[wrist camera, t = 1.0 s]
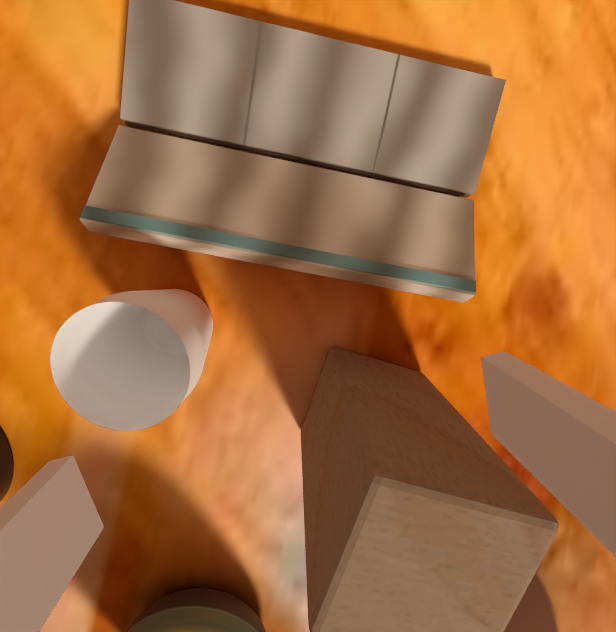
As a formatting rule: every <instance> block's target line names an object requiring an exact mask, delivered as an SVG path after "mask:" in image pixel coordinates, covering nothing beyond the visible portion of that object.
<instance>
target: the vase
mask: <svg viewBox="0 0 616 632" xmlns="http://www.w3.org/2000/svg"><path fill="white" fill-rule="evenodd" d="M127 632H266V631H265V628H264V626H263V624H262V622H261V620H260V619H259V617H258V616H257V614H256V613H255V612H254V611H253V610H252V609H251V608H250V607H249V606H248V605H247V604H246V603H244V602H243V601H242V600H240V599H238V598H237V597H235V596H233V595H230V594H228V593H225V592H222V591H218V590H214V589H205V588H194V589H186V590H181V591H178V592H174V593H172V594H169V595H167V596H164V597H162V598H161V599H159V600H157V601H156V602H154V603H153V604H152V605H150V606H149V607H148V608H147V609H145V610H144V611H143V612H142V613H141V614H140V615H139V617H138V618H137V619H136V620H135V621H134V622H133V624H132V625H131V626H130V627H129V629H128V630H127Z"/></svg>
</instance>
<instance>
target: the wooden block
mask: <svg viewBox="0 0 616 632" xmlns="http://www.w3.org/2000/svg"><path fill="white" fill-rule="evenodd" d="M301 449H302V473H303V498H304V523H305V547H306V572H307V597H308V621H309V630H310V632H503V631H504V630H505V628H506V626H507V624H508V622H509V620H510V618H511V617H512V615H513V613H514V611H515V609H516V607H517V606H518V603H519V602H520V600H521V598H522V596H523V594H524V592H525V591H526V589H527V587H528V585H529V583H530V581H531V580H532V578H533V576H534V574H535V572H536V570H537V568H538V567H539V565H540V563H541V561H542V559H543V557H544V555H545V554H546V552H547V550H548V548H549V546H550V544H551V543H552V541H553V539H554V537H555V535H556V533H557V531H558V526H559V524H558V521H557V519H556V518H555V517H554V516H553V515H552V513H551V512H550V511H549V510H548V509H547V508H546V507H545V506H544V505H543V504H542V503H541V502H540V500H539V499H538V498H537V497H536V496H535V495H534V494H533V493H532V492H531V491H530V490H529V488H528V487H527V486H526V485H525V484H524V483H523V482H522V481H521V480H520V479H519V478H518V477H517V475H516V474H515V473H514V472H513V471H512V470H511V469H510V468H509V467H508V466H507V465H506V463H505V462H504V461H503V460H502V459H501V458H500V457H499V456H498V455H497V454H496V453H495V452H494V450H493V449H492V448H491V447H490V446H489V445H488V444H487V443H486V442H485V441H484V440H483V438H482V437H481V436H480V435H479V434H478V433H477V432H476V431H475V430H474V429H473V428H472V427H471V425H470V424H469V423H468V422H467V421H466V420H465V419H464V418H463V417H462V416H461V415H460V413H459V412H458V411H457V410H456V409H455V408H454V407H453V406H452V405H451V404H450V403H449V401H448V400H447V399H446V398H445V397H444V396H443V395H442V394H441V393H440V392H439V391H438V390H437V388H436V387H435V386H434V385H433V384H432V383H431V382H430V381H429V380H428V379H427V378H426V376H425V375H424V374H422V373H421V372H418V371H415V370H412V369H408V368H405V367H402V366H398V365H395V364H392V363H388V362H385V361H382V360H378V359H375V358H372V357H368V356H365V355H362V354H358V353H355V352H352V351H348V350H345V349H341V348H338V347H331V348H330V349H329V351H328V354H327V357H326V360H325V363H324V366H323V368H322V371H321V374H320V377H319V380H318V383H317V386H316V389H315V391H314V394H313V397H312V400H311V403H310V406H309V409H308V412H307V414H306V417H305V420H304V423H303V426H302V429H301Z"/></svg>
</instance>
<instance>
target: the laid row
mask: <svg viewBox="0 0 616 632" xmlns="http://www.w3.org/2000/svg"><path fill="white" fill-rule="evenodd" d="M505 81H506V80H503V79H499V78H495V77H491V76H487V75H483V74H479V73H474V72H470V71H466V70H462V69H458V68H454V67H449V66H445V65H441V64H437V63H433V62H429V61H425V60H420V59H416V58H412V57H408V56H404V55H401V54H395V53H391V52H387V51H383V50H379V49H375V48H371V47H366V46H362V45H358V44H354V43H350V42H346V41H341V40H337V39H333V38H329V37H325V36H321V35H317V34H312V33H308V32H304V31H300V30H296V29H292V28H287V27H283V26H279V25H275V24H271V23H267V22H263V21H258V20H254V19H250V18H246V17H242V16H238V15H233V14H229V13H225V12H221V11H217V10H213V9H209V8H204V7H200V6H196V5H192V4H188V3H184V2H179V1H175V0H129V8H128V21H127V34H126V48H125V61H124V74H123V87H122V100H121V113H120V119H122V120H123V121H125V124H126V125H128V126H132V127H136V128H141V129H146V130H151V131H155V132H160V133H165V134H169V135H174V136H179V137H184V138H188V139H193V140H198V141H202V142H207V143H212V144H217V145H221V146H226V147H231V148H235V149H240V150H245V151H250V152H254V153H259V154H264V155H268V156H273V157H278V158H283V159H287V160H292V161H297V162H302V163H306V164H311V165H316V166H320V167H325V168H330V169H335V170H339V171H344V172H349V173H353V174H358V175H363V176H368V177H372V178H377V179H382V180H386V181H391V182H396V183H401V184H405V185H410V186H415V187H420V188H424V189H429V190H434V191H438V192H443V193H448V194H453V195H457V196H462V197H469V195H471V194H475V190H476V187H477V183H478V179H479V176H480V172H481V168H482V165H483V161H484V157H485V154H486V150H487V147H488V143H489V139H490V136H491V132H492V128H493V125H494V121H495V117H496V114H497V110H498V107H499V103H500V99H501V96H502V92H503V88H504V85H505Z"/></svg>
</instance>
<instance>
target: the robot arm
mask: <svg viewBox="0 0 616 632" xmlns="http://www.w3.org/2000/svg"><path fill="white" fill-rule="evenodd" d="M481 361H482V368H483V376H484V383H485V391H486V399H487V406H488V414H489V421H490V429H491V434H492V435H493V436H494V437H495V438H496V439H497V440H498V441H499V442H500V443H501V444H502V445H503V446H504V447H505V448H506V449H507V450H508V451H509V452H510V453H511V454H512V455H513V456H514V457H515V458H516V459H517V460H518V461H519V462H520V463H521V464H522V465H523V466H524V467H525V468H526V469H527V470H528V471H529V472H530V473H531V474H532V475H533V476H534V477H535V478H536V479H537V480H538V481H539V482H540V483H541V484H542V485H543V486H544V487H545V488H546V489H547V490H548V491H549V492H550V493H551V494H552V495H553V496H554V497H555V498H556V499H557V500H558V501H559V502H560V503H561V504H563V505H564V506H565V507H566V508H567V509H568V510H569V511H570V512H571V513H572V514H573V515H574V516H575V517H576V518H577V519H578V520H579V521H580V522H581V523H582V524H583V525H584V526H585V527H586V528H587V529H588V530H589V531H590V532H591V533H592V534H593V535H594V536H595V537H596V538H597V539H598V540H599V541H600V542H601V543H602V544H603V545H604V546H605V547H606V548H607V549H608V550H609V551H610V552H611V553H612V554H613V555H614V556H615V557H616V412H615V411H613V410H611V409H610V408H608V407H606V406H604V405H602V404H601V403H599V402H597V401H595V400H593V399H591V398H590V397H588V396H586V395H584V394H582V393H580V392H579V391H577V390H575V389H573V388H571V387H569V386H568V385H566V384H564V383H562V382H560V381H558V380H557V379H555V378H553V377H551V376H549V375H548V374H546V373H544V372H542V371H540V370H538V369H537V368H535V367H533V366H531V365H529V364H527V363H526V362H524V361H522V360H520V359H518V358H516V357H515V356H513V355H511V354H509V353H507V352H505V351H503V352H499V353H495V354H491V355H487V356H482V357H481ZM12 477H13V457H12V453H11V449H10V446H9V444H8V442H7V439H6V437H5V436H4V434H3V432H2V431H1V429H0V501H1V500H2V499H3V498H4V496H5V495H6V493H7V491H8V489H9V487H10V484H11V481H12ZM103 528H104V526H103V523H102V521H101V519H100V516H99V514H98V512H97V509H96V507H95V505H94V502H93V500H92V498H91V495H90V493H89V491H88V488H87V486H86V484H85V481H84V479H83V477H82V474H81V472H80V470H79V468H78V465H77V463H76V461H75V458H74V456H73V455H71V456H67V457H63V458H59V459H55V460H50V461H49V462H48V463H46V464H45V465H44V466H43V467H42V468H41V469H40V470H39V471H38V472H37V473H36V474H35V475H34V476H33V477H32V478H31V479H30V480H29V481H28V482H27V483H26V484H25V485H24V486H23V487H21V488H20V489H19V490H18V491H17V492H16V493H15V494H14V495H13V496H12V497H11V498H10V499H9V500H8V501H7V502H6V503H5V504H4V505H3V506H2V507H1V508H0V632H39V631H40V630H41V628H42V626H43V625H44V623H45V622H46V620H47V618H48V617H49V615H50V614H51V612H52V610H53V609H54V607H55V606H56V604H57V602H58V601H59V599H60V597H61V596H62V594H63V593H64V591H65V589H66V588H67V586H68V585H69V583H70V581H71V580H72V578H73V577H74V575H75V573H76V572H77V570H78V568H79V567H80V565H81V564H82V562H83V560H84V559H85V557H86V556H87V554H88V552H89V551H90V549H91V548H92V546H93V544H94V543H95V541H96V540H97V538H98V536H99V535H100V533H101V531H102V530H103Z"/></svg>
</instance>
